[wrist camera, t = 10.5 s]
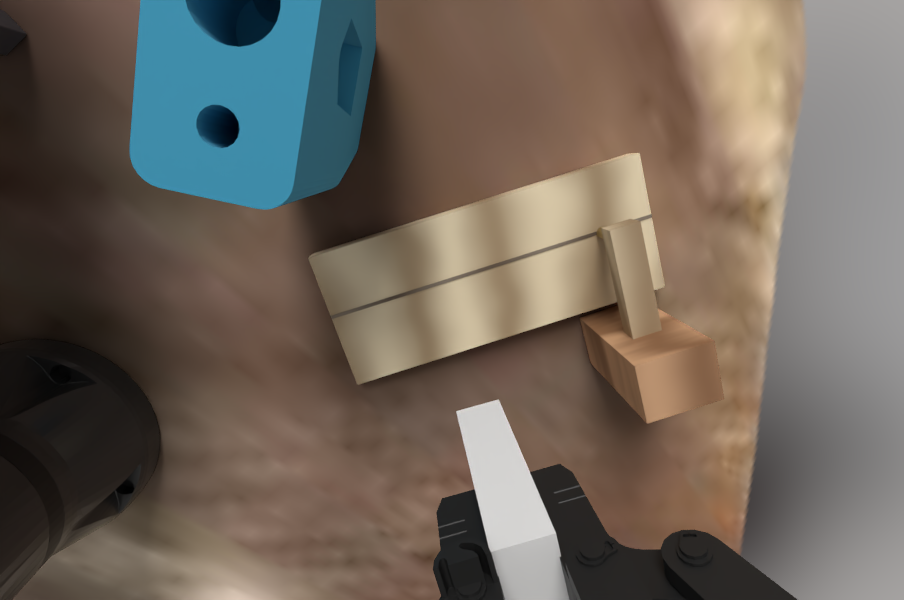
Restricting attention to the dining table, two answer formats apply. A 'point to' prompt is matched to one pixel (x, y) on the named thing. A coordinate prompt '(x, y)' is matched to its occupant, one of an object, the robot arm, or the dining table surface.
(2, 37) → the planter
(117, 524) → the dining table surface
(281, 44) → the block
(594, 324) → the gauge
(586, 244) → the board
